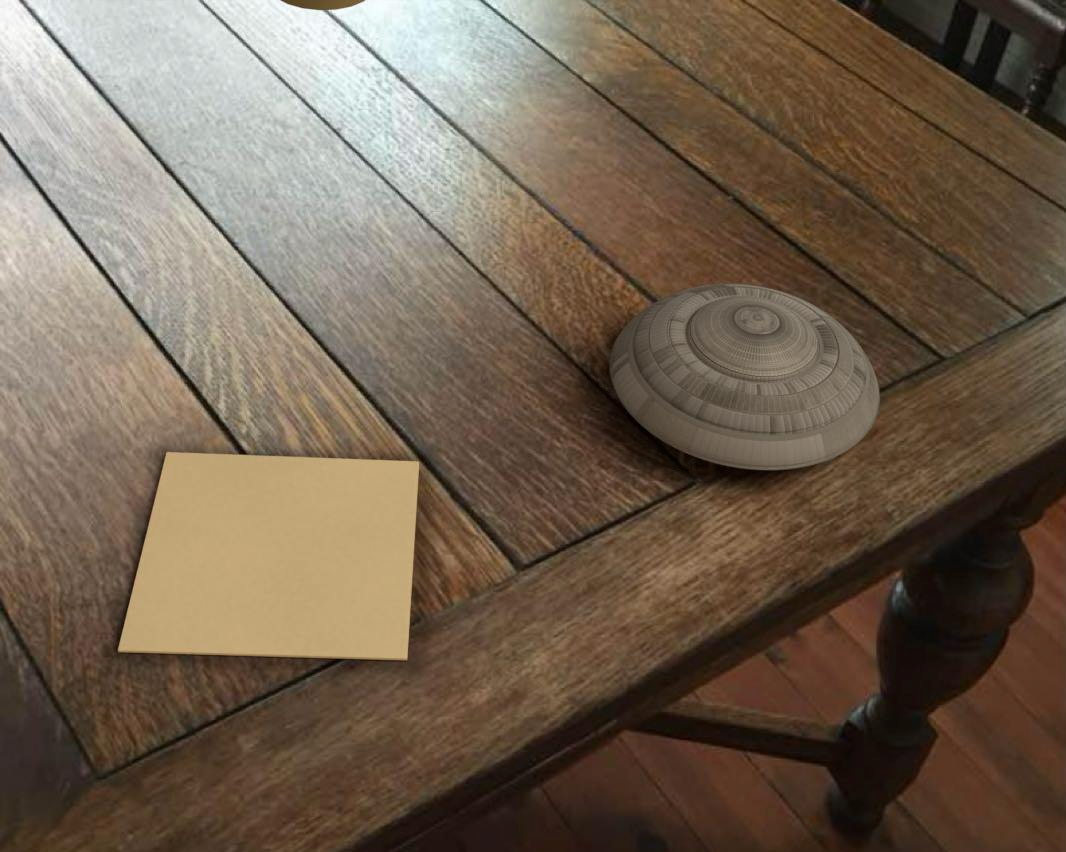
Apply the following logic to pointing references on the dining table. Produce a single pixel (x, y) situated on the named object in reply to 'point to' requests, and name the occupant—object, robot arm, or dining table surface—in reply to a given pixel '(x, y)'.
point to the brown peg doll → (323, 4)
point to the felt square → (277, 558)
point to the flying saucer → (745, 377)
